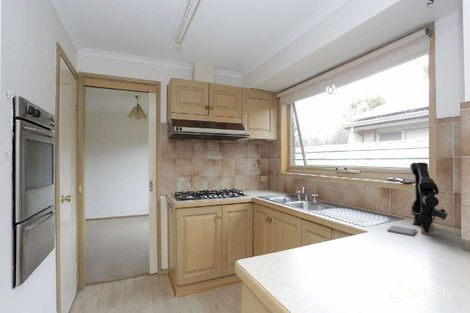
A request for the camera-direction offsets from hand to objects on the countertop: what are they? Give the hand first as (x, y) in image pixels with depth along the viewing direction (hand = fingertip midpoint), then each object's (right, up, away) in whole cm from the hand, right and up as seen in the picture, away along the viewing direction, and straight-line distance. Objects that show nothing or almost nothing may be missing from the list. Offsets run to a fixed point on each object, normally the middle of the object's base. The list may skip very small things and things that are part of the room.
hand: (427, 231), depth 133 cm
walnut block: (0, -1, 0) cm, 1 cm away
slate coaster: (-11, -1, +4) cm, 12 cm away
